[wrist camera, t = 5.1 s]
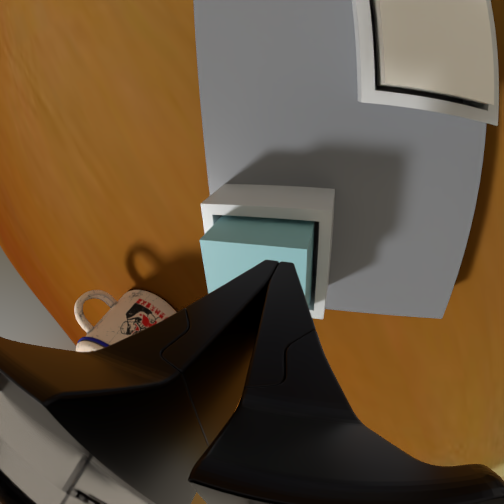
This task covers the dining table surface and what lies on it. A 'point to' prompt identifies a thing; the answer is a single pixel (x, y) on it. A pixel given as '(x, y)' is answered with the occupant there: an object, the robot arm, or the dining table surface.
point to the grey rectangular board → (339, 150)
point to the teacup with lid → (120, 317)
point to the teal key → (256, 248)
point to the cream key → (435, 47)
